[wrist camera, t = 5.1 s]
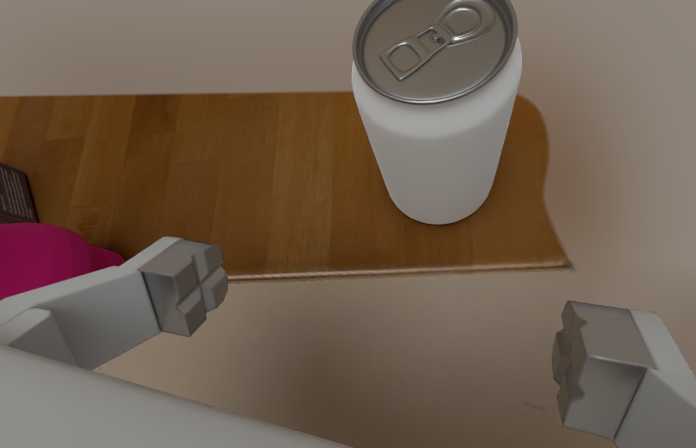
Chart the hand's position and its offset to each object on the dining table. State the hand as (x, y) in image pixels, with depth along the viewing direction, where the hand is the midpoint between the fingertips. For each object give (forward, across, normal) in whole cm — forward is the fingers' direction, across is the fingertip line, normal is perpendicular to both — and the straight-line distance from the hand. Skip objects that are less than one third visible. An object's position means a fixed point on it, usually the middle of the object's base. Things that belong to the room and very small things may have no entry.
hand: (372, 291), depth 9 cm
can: (+17, 0, +3) cm, 17 cm away
